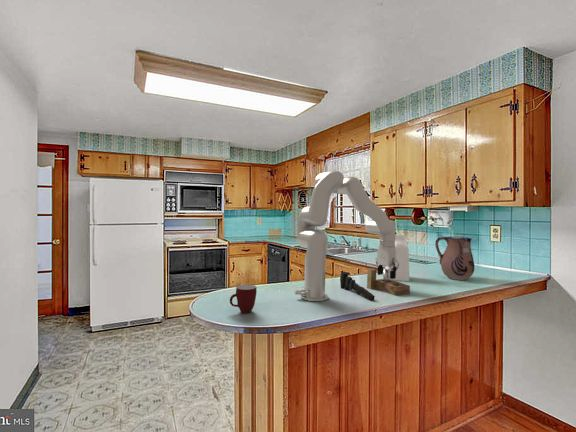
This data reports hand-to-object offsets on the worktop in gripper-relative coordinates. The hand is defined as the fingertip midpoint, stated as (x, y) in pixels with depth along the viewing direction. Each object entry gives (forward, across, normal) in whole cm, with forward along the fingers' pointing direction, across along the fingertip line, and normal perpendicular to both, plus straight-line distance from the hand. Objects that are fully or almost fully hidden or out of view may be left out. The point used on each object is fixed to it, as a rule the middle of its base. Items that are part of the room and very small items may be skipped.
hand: (386, 276), depth 166 cm
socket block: (+6, +4, 0) cm, 7 cm away
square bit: (+6, -3, -7) cm, 10 cm away
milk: (+6, -17, +22) cm, 29 cm away
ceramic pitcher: (+6, -5, +55) cm, 56 cm away
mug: (+7, +10, -79) cm, 80 cm away
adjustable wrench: (+7, +3, -20) cm, 22 cm away
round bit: (+6, 0, 0) cm, 6 cm away
